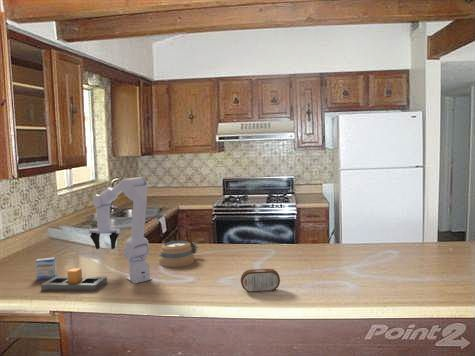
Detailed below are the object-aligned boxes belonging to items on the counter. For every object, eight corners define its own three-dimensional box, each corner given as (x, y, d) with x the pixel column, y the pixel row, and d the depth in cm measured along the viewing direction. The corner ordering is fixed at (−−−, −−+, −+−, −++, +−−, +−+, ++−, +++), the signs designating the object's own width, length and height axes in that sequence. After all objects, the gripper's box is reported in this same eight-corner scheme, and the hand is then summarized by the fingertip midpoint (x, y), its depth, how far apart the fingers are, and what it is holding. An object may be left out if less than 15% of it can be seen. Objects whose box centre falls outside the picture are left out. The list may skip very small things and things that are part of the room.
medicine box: (36, 280, 182) (35, 261, 182) (38, 277, 187) (37, 258, 186) (55, 277, 185) (54, 259, 184) (57, 274, 189) (55, 256, 188)
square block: (82, 284, 174) (81, 268, 173) (77, 287, 170) (76, 271, 169) (73, 284, 175) (72, 268, 174) (68, 287, 171) (67, 271, 170)
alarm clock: (151, 247, 195) (174, 236, 217) (152, 266, 196) (175, 253, 217) (183, 249, 189) (203, 237, 211) (184, 268, 190) (204, 254, 212)
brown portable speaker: (279, 288, 159) (279, 267, 158) (280, 291, 156) (280, 269, 155) (241, 290, 158) (240, 269, 158) (241, 293, 155) (240, 272, 155)
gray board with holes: (107, 282, 175) (106, 276, 174) (95, 291, 165) (95, 285, 165) (55, 282, 179) (55, 276, 178) (41, 290, 169) (40, 284, 168)
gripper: (121, 218, 193) (123, 246, 194) (93, 218, 195) (95, 246, 196) (115, 221, 186) (117, 250, 187) (85, 221, 188) (87, 250, 189)
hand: (105, 248), depth 191 cm, fingers open, 7 cm apart
